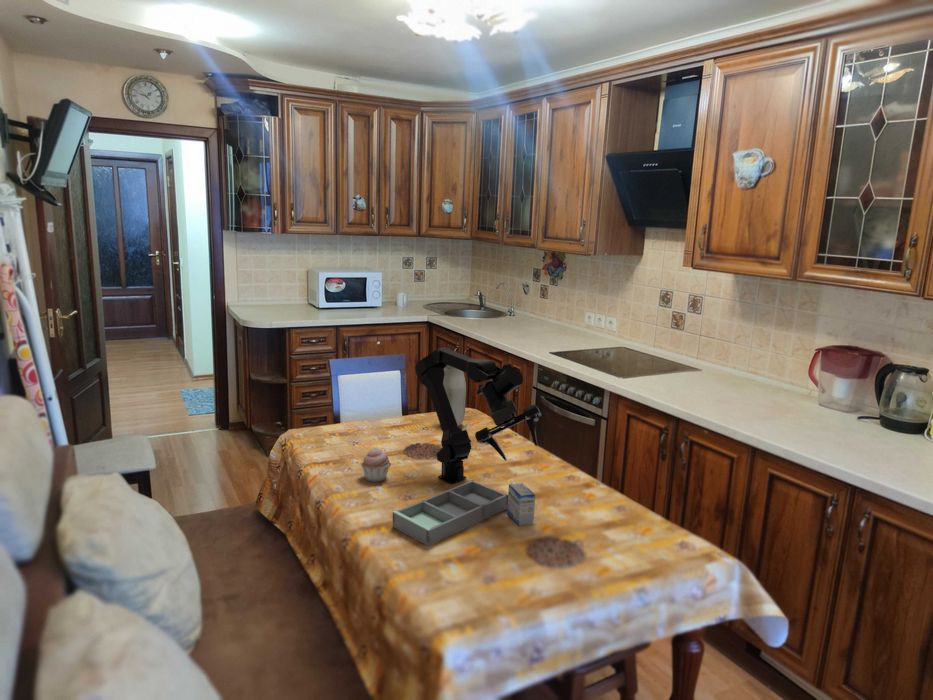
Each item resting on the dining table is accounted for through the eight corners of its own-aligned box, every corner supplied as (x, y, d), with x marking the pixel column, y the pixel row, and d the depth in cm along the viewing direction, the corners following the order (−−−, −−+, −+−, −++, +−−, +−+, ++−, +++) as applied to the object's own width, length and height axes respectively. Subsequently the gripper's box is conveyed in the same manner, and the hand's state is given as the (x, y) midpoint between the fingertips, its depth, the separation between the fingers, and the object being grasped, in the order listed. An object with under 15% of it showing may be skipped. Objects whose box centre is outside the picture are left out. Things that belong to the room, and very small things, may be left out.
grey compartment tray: (392, 526, 163) (392, 511, 163) (472, 492, 185) (472, 479, 184) (428, 546, 154) (428, 530, 153) (507, 508, 176) (508, 494, 175)
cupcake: (396, 475, 195) (397, 445, 193) (380, 486, 187) (380, 455, 185) (371, 469, 199) (371, 440, 197) (354, 480, 191) (354, 449, 189)
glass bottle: (438, 422, 247) (439, 352, 242) (464, 422, 248) (466, 353, 242) (438, 430, 238) (440, 358, 232) (465, 430, 239) (468, 358, 233)
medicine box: (506, 513, 173) (508, 483, 171) (521, 511, 175) (522, 481, 173) (518, 526, 166) (520, 495, 164) (534, 524, 167) (535, 493, 166)
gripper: (461, 412, 168) (484, 465, 163) (524, 381, 166) (549, 435, 162) (469, 417, 179) (492, 468, 174) (529, 389, 177) (553, 439, 172)
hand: (521, 453), depth 170 cm, fingers open, 9 cm apart
